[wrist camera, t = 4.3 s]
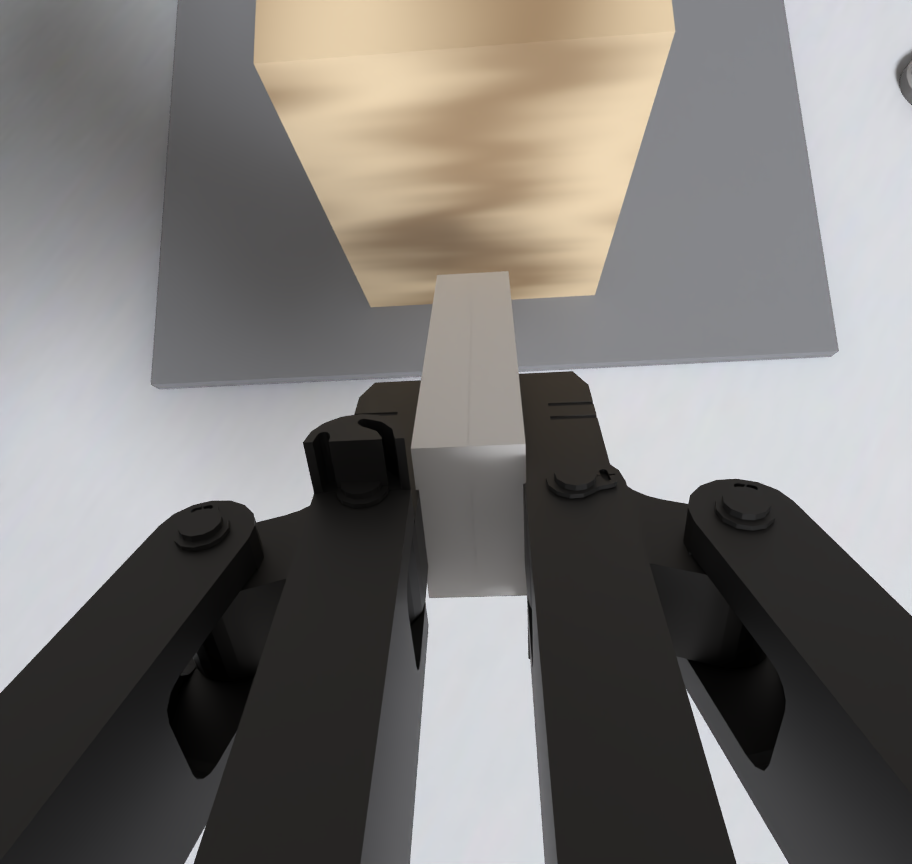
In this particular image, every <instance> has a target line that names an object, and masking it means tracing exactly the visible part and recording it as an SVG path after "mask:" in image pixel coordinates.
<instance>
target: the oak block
mask: <svg viewBox="0 0 912 864" xmlns="http://www.w3.org/2000/svg"><path fill="white" fill-rule="evenodd" d="M674 34H675V24H674V15H673V7H672V0H256V15H255V39H254V66H255V68H256V70H257V72H258V74H259V76H260V78H261V80H262V82H263V84H264V86H265V89H266V91H267V93H268V95H269V97H270V99H271V101H272V103H273V105H274V107H275V109H276V111H277V113H278V116H279V118H280V120H281V122H282V124H283V126H284V128H285V130H286V132H287V134H288V136H289V138H290V140H291V143H292V145H293V147H294V149H295V151H296V153H297V155H298V157H299V159H300V161H301V163H302V165H303V167H304V170H305V172H306V174H307V176H308V178H309V180H310V182H311V184H312V186H313V188H314V190H315V192H316V194H317V197H318V199H319V201H320V203H321V205H322V207H323V209H324V211H325V213H326V215H327V217H328V219H329V221H330V224H331V226H332V228H333V230H334V232H335V234H336V236H337V238H338V240H339V242H340V244H341V246H342V248H343V251H344V253H345V255H346V257H347V259H348V261H349V263H350V265H351V267H352V269H353V271H354V273H355V275H356V278H357V280H358V282H359V284H360V286H361V288H362V290H363V292H364V294H365V296H366V298H367V300H368V302H369V305H370V307H387V306H405V305H423V304H433V299H434V292H435V286H436V279H437V275H448V274H465V273H483V272H501V271H508V272H509V282H510V292H511V300H515V299H533V298H551V297H570V296H588V295H595V293H596V290H597V286H598V283H599V280H600V276H601V273H602V270H603V267H604V263H605V260H606V257H607V254H608V250H609V247H610V244H611V240H612V237H613V234H614V231H615V227H616V224H617V221H618V217H619V214H620V211H621V208H622V204H623V201H624V198H625V194H626V191H627V188H628V185H629V181H630V178H631V175H632V171H633V168H634V165H635V162H636V158H637V155H638V152H639V149H640V145H641V142H642V139H643V135H644V132H645V129H646V126H647V122H648V119H649V116H650V112H651V109H652V106H653V103H654V99H655V96H656V93H657V89H658V86H659V83H660V80H661V76H662V73H663V70H664V66H665V63H666V60H667V57H668V53H669V50H670V47H671V44H672V40H673V37H674Z"/></svg>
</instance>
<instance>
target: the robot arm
mask: <svg viewBox="0 0 912 864" xmlns="http://www.w3.org/2000/svg"><path fill="white" fill-rule="evenodd" d="M303 445H304V449H305V454H306V458H307V463H308V467H309V472H310V476H311V481H312V485H313V490H314V496H313V499H312V502H311V505H310V506H308V507H306V508H304V509H302V510H300V511H297V512H294V513H291V514H288V515H285V516H281V517H277V518H273V519H269V520H265V521H261V522H257V523H256V521H255V518H254V514H253V513H252V512H251V511H250V510H249V509H248V508H247V507H246V506H245V505H243V504H240V503H236V502H233V501H209V502H205V503H200V504H197V505H192V506H190V507H188V508H186V509H184V510H182V511H180V512H177V513H175V514H174V515H172V516H171V517H170V518H168V519H167V520H166V521H165V522H163V523H162V524H161V525H160V526H159V527H158V528H157V529H156V530H155V531H154V532H153V533H152V534H151V535H150V536H149V537H148V538H147V539H146V540H145V541H144V542H143V543H142V545H141V546H140V547H139V548H138V549H137V550H136V551H135V552H134V553H133V554H132V555H131V556H130V557H129V558H128V559H127V560H126V561H125V562H124V564H123V565H122V566H121V567H120V568H119V569H118V570H117V571H116V572H115V573H114V574H113V575H112V576H111V577H110V578H109V579H108V580H107V581H106V582H105V584H104V585H103V586H102V587H101V588H100V589H99V590H98V591H97V592H96V593H95V594H94V595H93V596H92V597H91V598H90V599H89V600H88V601H87V603H86V604H85V605H84V606H83V607H82V608H81V609H80V610H79V611H78V612H77V613H76V614H75V615H74V616H73V617H72V618H71V619H70V620H69V621H68V623H67V624H66V625H65V626H64V627H63V628H62V629H61V630H60V631H59V632H58V633H57V634H56V635H55V636H54V637H53V638H52V639H51V640H50V642H49V643H48V644H47V645H46V646H45V647H44V648H43V649H42V650H41V651H40V652H39V653H38V654H37V655H36V656H35V657H34V658H33V659H32V660H31V662H30V663H29V664H28V665H27V666H26V667H25V668H24V669H23V670H22V671H21V672H20V673H19V674H18V675H17V676H16V677H15V678H14V679H13V681H12V682H11V683H10V684H9V685H8V686H7V687H6V688H5V689H4V690H3V691H2V692H1V693H0V864H184V863H185V861H186V860H187V858H188V856H189V854H190V853H191V851H192V849H193V847H194V845H195V844H196V842H197V840H198V838H199V836H200V835H201V833H202V831H203V829H204V828H205V826H206V828H205V831H204V834H203V837H202V840H201V843H200V846H199V849H198V852H197V855H196V858H195V861H194V864H410V854H411V841H412V828H413V816H414V803H415V790H416V777H417V765H418V752H419V739H420V726H421V714H422V701H423V688H424V675H425V663H426V650H427V637H428V619H427V611H426V603H425V598H426V587H427V584H428V592H429V598H447V597H484V596H521V595H527V604H528V656H529V659H530V660H531V674H532V688H533V702H534V716H535V730H536V744H537V759H538V773H539V787H540V801H541V815H542V829H543V843H544V857H545V864H736V860H735V857H734V854H733V850H732V847H731V843H730V840H729V836H728V833H727V829H726V826H725V822H724V819H723V816H722V812H721V809H720V805H719V802H718V798H717V795H716V791H715V788H714V785H713V781H712V778H711V774H710V771H709V767H708V764H707V760H706V757H705V754H704V750H703V747H702V743H701V740H700V736H699V733H698V729H697V726H696V722H695V719H694V716H693V712H692V709H691V705H690V702H689V698H688V695H687V691H688V693H689V694H690V696H691V698H692V699H693V701H694V703H695V704H696V706H697V708H698V710H699V711H700V713H701V715H702V716H703V718H704V720H705V722H706V723H707V725H708V727H709V728H710V730H711V732H712V733H713V735H714V737H715V739H716V740H717V742H718V744H719V745H720V747H721V749H722V750H723V752H724V754H725V756H726V757H727V759H728V761H729V762H730V764H731V766H732V767H733V769H734V771H735V773H736V774H737V776H738V778H739V779H740V781H741V783H742V784H743V786H744V788H745V790H746V791H747V793H748V795H749V796H750V798H751V800H752V801H753V803H754V805H755V807H756V808H757V810H758V812H759V813H760V815H761V817H762V818H763V820H764V822H765V824H766V825H767V827H768V829H769V830H770V832H771V834H772V835H773V837H774V839H775V841H776V842H777V844H778V846H779V847H780V849H781V851H782V853H783V854H784V856H785V858H786V859H787V861H788V863H789V864H912V616H911V615H910V614H909V613H908V612H907V611H906V610H905V609H904V608H903V607H902V606H901V605H900V604H899V603H898V602H897V601H896V600H895V599H893V598H892V597H891V596H890V595H889V594H888V593H887V592H886V591H885V590H884V589H883V588H882V587H881V586H880V585H879V584H878V583H877V582H876V581H875V580H874V579H873V578H872V577H871V576H870V575H869V574H868V573H867V572H866V571H865V570H864V569H863V568H862V567H861V566H860V565H859V564H858V563H857V562H856V561H854V560H853V559H852V558H851V557H850V556H849V555H848V554H847V553H846V552H845V551H844V550H843V549H842V548H841V547H840V546H839V545H838V544H837V543H836V542H835V541H834V540H833V539H832V538H831V537H830V536H829V535H828V534H827V533H826V532H825V531H824V530H823V529H822V528H821V527H820V526H819V525H818V524H816V523H815V522H814V521H813V520H812V519H811V518H810V517H809V516H808V515H807V514H806V513H805V512H804V511H803V510H802V509H801V508H800V507H799V506H798V505H797V504H796V503H795V502H794V501H793V500H791V499H790V498H788V497H787V496H786V495H784V494H783V493H781V492H780V491H778V490H777V489H774V488H771V487H769V486H766V485H764V484H761V483H758V482H753V481H747V480H740V479H726V480H715V481H712V482H710V483H707V484H704V485H701V486H700V487H698V488H697V489H696V490H695V491H694V492H693V493H692V494H691V495H690V499H689V504H684V503H679V502H673V501H667V500H662V499H657V498H653V497H649V496H646V495H644V494H641V493H639V492H636V491H634V490H632V489H631V488H629V487H628V486H627V485H626V481H625V480H624V478H623V476H622V475H621V473H620V472H619V470H618V469H616V468H615V467H613V466H612V465H610V463H609V459H608V455H607V452H606V448H605V444H604V441H603V437H602V433H601V430H600V426H599V422H598V419H597V418H596V411H595V408H594V404H593V400H592V397H591V393H590V389H589V386H588V384H587V383H585V382H584V381H583V380H582V379H581V378H580V377H578V376H577V375H576V374H575V373H574V372H573V371H570V372H549V373H528V374H519V373H518V363H517V352H516V342H515V332H514V322H513V312H512V302H511V292H510V282H509V272H508V271H501V272H483V273H465V274H448V275H437V279H436V286H435V292H434V299H433V305H432V312H431V319H430V325H429V332H428V338H427V345H426V351H425V358H424V365H423V371H422V378H421V381H401V382H380V383H374V384H373V385H372V386H371V387H370V388H369V389H368V390H367V391H366V392H365V393H364V394H363V395H362V396H361V397H359V401H358V404H357V408H356V411H355V415H351V416H344V417H340V418H337V419H334V420H332V421H329V422H326V423H324V424H322V425H321V426H319V427H318V428H316V429H315V430H313V431H312V432H310V434H309V435H308V437H307V438H306V439H305V441H304V442H303ZM685 687H686V688H685ZM686 689H687V691H686Z"/></svg>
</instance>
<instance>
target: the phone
mask: <svg viewBox="0 0 912 864" xmlns="http://www.w3.org/2000/svg"><path fill="white" fill-rule="evenodd" d="M900 89H901V92H902V94H903V96H904V97H905V99H906V100H907V101H908V102H909V103H910V104H911V105H912V60H911V62H910V63H909V64H908V66H907V67H906V68H905V70H904V71H903V72H902V74H901V77H900Z"/></svg>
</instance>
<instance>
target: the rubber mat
mask: <svg viewBox="0 0 912 864" xmlns="http://www.w3.org/2000/svg"><path fill="white" fill-rule="evenodd" d="M672 7H673V15H674V24H675V34H674V37H673V40H672V44H671V47H670V50H669V53H668V57H667V60H666V63H665V66H664V70H663V73H662V76H661V80H660V83H659V86H658V89H657V93H656V96H655V99H654V103H653V106H652V109H651V112H650V116H649V119H648V122H647V126H646V129H645V132H644V135H643V139H642V142H641V145H640V149H639V152H638V155H637V158H636V162H635V165H634V168H633V171H632V175H631V178H630V181H629V185H628V188H627V191H626V194H625V198H624V201H623V204H622V208H621V211H620V214H619V217H618V221H617V224H616V227H615V231H614V234H613V237H612V240H611V244H610V247H609V250H608V254H607V257H606V260H605V263H604V267H603V270H602V273H601V276H600V280H599V283H598V286H597V290H596V293H595V295H588V296H570V297H551V298H533V299H515V300H511V302H512V312H513V322H514V332H515V342H516V352H517V363H518V372H523V371H543V370H564V369H585V368H605V367H626V366H647V365H668V364H688V363H709V362H730V361H750V360H771V359H792V358H813V357H831V356H832V355H834V354H835V353H836V352H838V351H839V350H838V343H837V337H836V330H835V324H834V318H833V311H832V305H831V299H830V292H829V286H828V280H827V273H826V267H825V261H824V254H823V248H822V241H821V235H820V229H819V222H818V216H817V210H816V203H815V197H814V191H813V184H812V178H811V171H810V165H809V159H808V152H807V146H806V140H805V133H804V127H803V121H802V114H801V108H800V101H799V95H798V89H797V82H796V76H795V70H794V63H793V57H792V51H791V44H790V38H789V32H788V25H787V19H786V12H785V6H784V0H672ZM255 15H256V0H178V7H177V21H176V36H175V50H174V64H173V78H172V92H171V106H170V121H169V135H168V149H167V163H166V177H165V191H164V206H163V220H162V234H161V248H160V262H159V277H158V291H157V305H156V319H155V333H154V347H153V362H152V376H151V385H153V386H155V387H156V388H158V389H170V388H191V387H212V386H233V385H253V384H274V383H295V382H315V381H336V380H357V379H378V378H398V377H419V376H422V371H423V365H424V358H425V351H426V345H427V338H428V332H429V325H430V319H431V312H432V305H433V304H423V305H405V306H387V307H370V305H369V302H368V300H367V298H366V296H365V294H364V292H363V290H362V288H361V286H360V284H359V282H358V280H357V278H356V275H355V273H354V271H353V269H352V267H351V265H350V263H349V261H348V259H347V257H346V255H345V253H344V251H343V248H342V246H341V244H340V242H339V240H338V238H337V236H336V234H335V232H334V230H333V228H332V226H331V224H330V221H329V219H328V217H327V215H326V213H325V211H324V209H323V207H322V205H321V203H320V201H319V199H318V197H317V194H316V192H315V190H314V188H313V186H312V184H311V182H310V180H309V178H308V176H307V174H306V172H305V170H304V167H303V165H302V163H301V161H300V159H299V157H298V155H297V153H296V151H295V149H294V147H293V145H292V143H291V140H290V138H289V136H288V134H287V132H286V130H285V128H284V126H283V124H282V122H281V120H280V118H279V116H278V113H277V111H276V109H275V107H274V105H273V103H272V101H271V99H270V97H269V95H268V93H267V91H266V89H265V86H264V84H263V82H262V80H261V78H260V76H259V74H258V72H257V70H256V68H255V66H254V39H255Z"/></svg>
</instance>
